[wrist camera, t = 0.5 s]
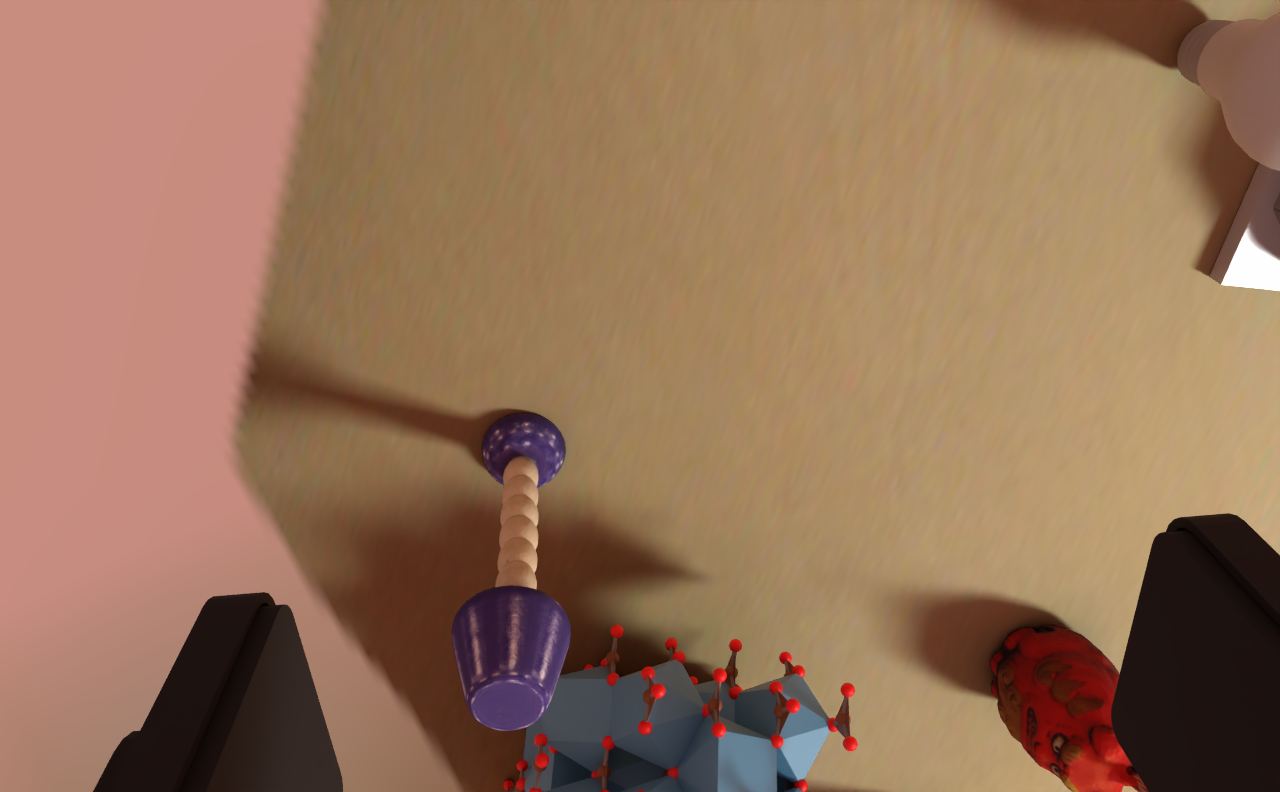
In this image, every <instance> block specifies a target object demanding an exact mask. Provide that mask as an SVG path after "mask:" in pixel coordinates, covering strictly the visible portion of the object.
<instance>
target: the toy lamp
mask: <svg viewBox="0 0 1280 792" xmlns="http://www.w3.org/2000/svg"><path fill="white" fill-rule="evenodd" d="M565 451H566V449H565V441H564V438H563V436H562V434H561V432H560V431H559V430H558V428H557V427H556V426H555V425H554V424H553V423H552V422H550V421H549V420H547V419H546V418H543V417H541V416H539V415H535V414H523V413H521V414H515V415H510V416H507V417H504V418H502V419H500V420H498V421H497V422H496V423H494V424H493V425H492V426H491V427H490V428H489V430H488V431H487V432H486V434H485V436H484V440H483V442H482V457H483V461H484V464H485V466H486V468H487V470H488V472H489V473H490V474H491V476H492V477H493V478H494V479H495V480H496V481H498V482H499V483H501V484H503V485H504V489H503V492H502V504H503V507H502V510H501V515H500V522H501V526H502V529H501V531H500V536H499V544H500V548H501V550H500V553H499V556H498V570H499V574H498V576H497V579H496V584H495V587H494V588H491V589H487V590H484V591H483V592H480V593H478V594H476V595H475V596H473V597H472V598H471V599H469V600H467V601H466V602H465V604H464V605H463V606H462V607H461V608H460V610H459V611H458V613H457V614H456V616H455V619H454V622H453V625H452V643H453V649H454V654H455V659H456V663H457V668H458V672H459V677H460V681H461V685H462V689H463V693H464V698H465V702H466V705H467V707H468V709H469V711H470V713H471V715H472V716H473V717H474V718H475V719H476V720H477V721H478V722H479V723H481V724H482V725H484V726H486V727H489V728H492V729H495V730H502V731H512V730H519V729H523V728H526V727H528V726H530V725H532V724H534V723H535V722H536V721H538V720H539V719H540V718H541V717H542V716H543V714H544V713H545V711H546V710H547V708H548V706H549V704H550V701H551V698H552V696H553V693H554V690H555V687H556V684H557V681H558V678H559V675H560V672H561V669H562V666H563V663H564V660H565V657H566V654H567V651H568V648H569V644H570V638H571V627H570V622H569V619H568V616H567V614H566V612H565V611H564V609H563V608H562V606H561V605H560V604H559V603H558V602H557V601H555V600H554V599H553V598H552V597H551V596H549V595H547V594H546V593H544V592H541V591H539V590H536V588H537V580H536V576H535V571H536V568H537V553H536V548H537V545H538V531H537V528H536V527H537V524H538V515H539V514H538V509H537V503H538V489H537V488H538V487H541V486H543V485H544V484H546V483H548V482H549V481H551V480H552V479H553V478H554V477H555V475H556V474H557V473H558V471H559V470H560V468H561V466H562V464H563V462H564V458H565V453H566V452H565Z"/></svg>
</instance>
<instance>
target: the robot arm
mask: <svg viewBox="0 0 1280 792" xmlns="http://www.w3.org/2000/svg"><path fill="white" fill-rule="evenodd" d="M1111 721H1112V726H1113V730H1114V733H1115V736H1116V739H1117V741H1118V743H1119V745H1120V746H1121V748H1122V749H1123V751H1124V753H1125V754H1126V756H1127V758H1128V759H1129V761H1130V762H1131V764H1132V766H1133V767H1134V769H1135V770H1136V772H1137V774H1138V775H1139V777H1140V779H1141V780H1142V782H1143V783H1144V785H1145V787H1146V788H1147V790H1148V791H1149V792H1280V555H1279V554H1278V553H1277V552H1276V551H1275V550H1274V549H1273V548H1272V547H1271V546H1270V545H1269V544H1268V543H1267V542H1265V541H1264V540H1263V539H1262V538H1261V537H1260V536H1259V535H1258V534H1257V533H1256V532H1255V531H1254V530H1253V529H1252V528H1251V527H1250V526H1249V525H1248V524H1247V523H1246V522H1245V521H1244V520H1242V519H1241V518H1240V517H1238V516H1237V515H1233V514H1216V515H1204V516H1192V517H1180V518H1177V519H1174V520H1173V521H1172V522H1171V523H1170V524H1169V525H1168V528H1167V530H1166V532H1163V533H1159V534H1158V535H1157V536H1156V537H1155V539H1154V541H1153V544H1152V547H1151V551H1150V555H1149V559H1148V563H1147V567H1146V571H1145V575H1144V579H1143V583H1142V587H1141V591H1140V595H1139V599H1138V603H1137V607H1136V611H1135V615H1134V619H1133V623H1132V627H1131V631H1130V635H1129V639H1128V643H1127V647H1126V651H1125V655H1124V659H1123V663H1122V667H1121V671H1120V675H1119V679H1118V683H1117V687H1116V691H1115V695H1114V699H1113V703H1112V708H1111ZM93 792H343V783H342V776H341V772H340V769H339V765H338V762H337V759H336V755H335V752H334V749H333V745H332V742H331V739H330V736H329V732H328V729H327V726H326V722H325V719H324V716H323V712H322V709H321V706H320V702H319V699H318V696H317V693H316V689H315V686H314V683H313V679H312V676H311V672H310V669H309V666H308V662H307V659H306V656H305V653H304V650H303V646H302V643H301V639H300V637H299V633H298V630H297V626H296V623H295V619H294V616H293V613H292V611H291V609H290V608H289V607H288V605H275V602H274V600H273V598H272V597H271V596H270V595H269V594H268V593H264V592H263V593H250V594H240V595H239V594H238V595H227V596H215V597H212V598H210V599H208V601H207V602H206V603H205V605H204V606H203V608H202V610H201V612H200V614H199V616H198V618H197V620H196V622H195V624H194V626H193V628H192V630H191V632H190V634H189V636H188V638H187V640H186V642H185V643H184V645H183V647H182V649H181V651H180V653H179V655H178V657H177V659H176V661H175V663H174V665H173V667H172V669H171V671H170V673H169V675H168V677H167V679H166V681H165V683H164V685H163V687H162V689H161V691H160V693H159V695H158V697H157V699H156V701H155V703H154V705H153V707H152V709H151V711H150V713H149V715H148V717H147V719H146V721H145V722H144V724H143V727H142V728H141V730H140V731H133V732H132V733H130V734H129V735H128V736H126V737H125V738H124V739H123V740H122V741H121V742H120V744H119V745H118V747H117V748H116V750H115V751H114V753H113V755H112V757H111V759H110V760H109V762H108V764H107V766H106V768H105V770H104V772H103V774H102V776H101V778H100V779H99V782H98V784H97V785H96V787H95V789H94V791H93Z"/></svg>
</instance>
